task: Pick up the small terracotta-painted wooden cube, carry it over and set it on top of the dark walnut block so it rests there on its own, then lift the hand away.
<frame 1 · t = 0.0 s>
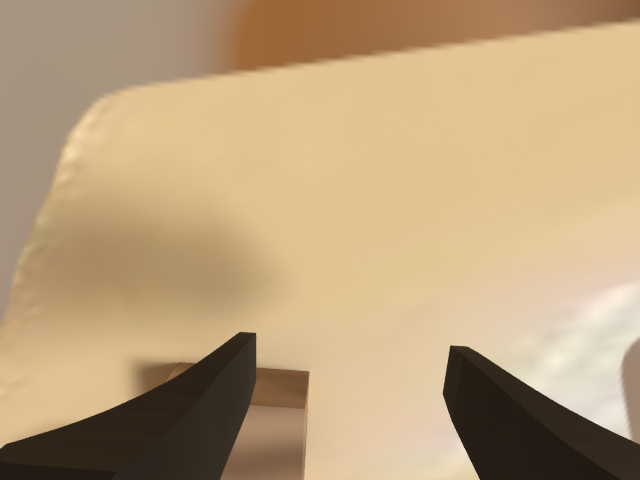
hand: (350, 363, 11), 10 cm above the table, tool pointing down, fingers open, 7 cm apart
walnut block: (245, 418, 24), on the table
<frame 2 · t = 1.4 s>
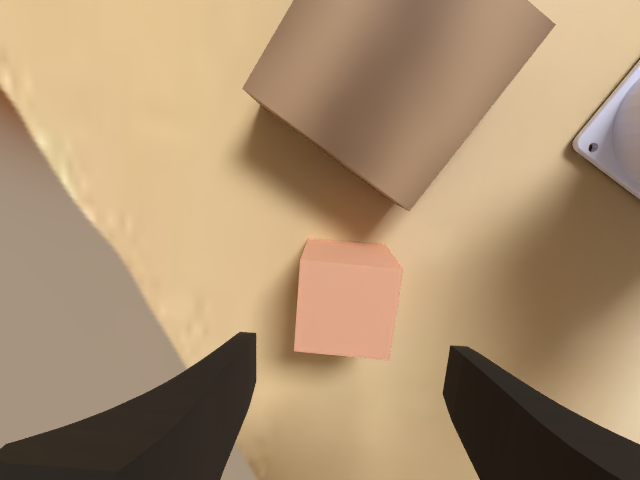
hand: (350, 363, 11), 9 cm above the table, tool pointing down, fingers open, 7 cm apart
walnut block: (379, 82, 18), on the table
terracotta cube: (343, 277, 20), on the table
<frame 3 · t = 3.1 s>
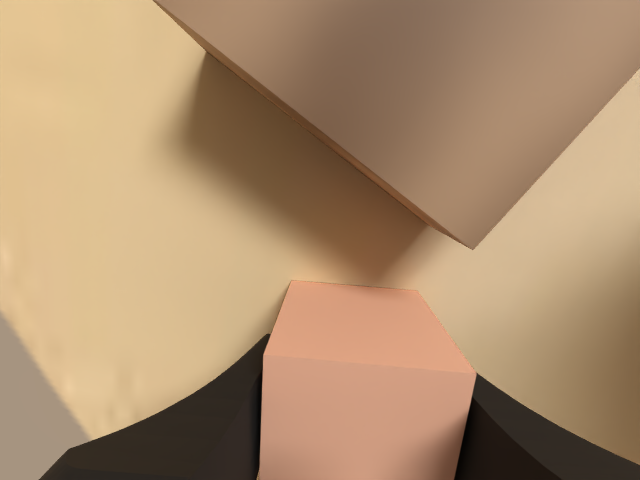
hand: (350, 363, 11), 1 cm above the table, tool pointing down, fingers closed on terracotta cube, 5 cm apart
walnut block: (412, 18, 10), on the table
terracotta cube: (348, 342, 12), on the table, touching gripper
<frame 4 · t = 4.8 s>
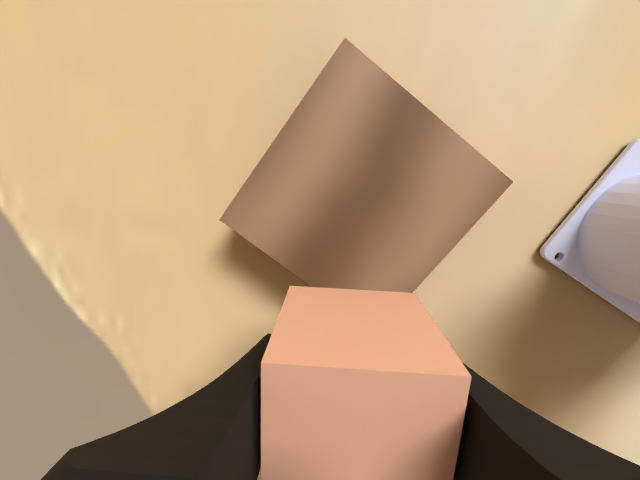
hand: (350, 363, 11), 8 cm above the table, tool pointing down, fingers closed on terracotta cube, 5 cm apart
walnut block: (355, 194, 18), on the table
terracotta cube: (347, 345, 13), point 7 cm above the table, touching gripper
when the fingers open (7 cm above the table, at t = 6.5 s): terracotta cube drops 2 cm, resting on walnut block.
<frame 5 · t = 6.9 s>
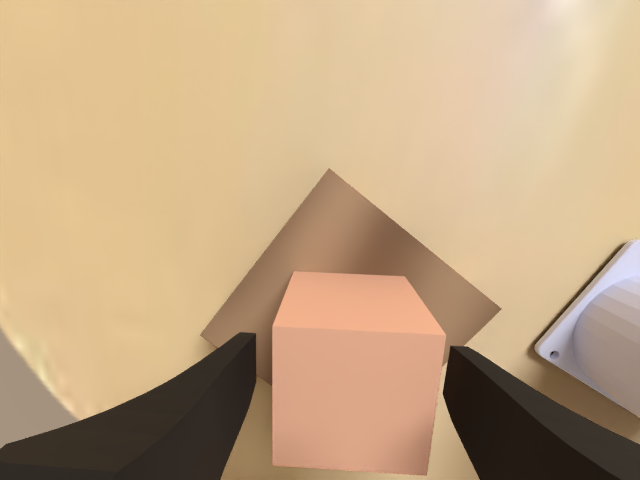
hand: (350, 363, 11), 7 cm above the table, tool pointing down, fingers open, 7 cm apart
walnut block: (343, 289, 18), on the table, touching terracotta cube
terracotta cube: (346, 324, 14), point 4 cm above the table, touching walnut block
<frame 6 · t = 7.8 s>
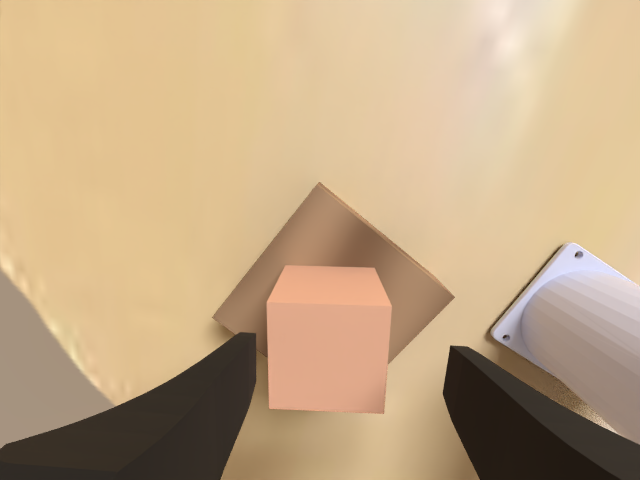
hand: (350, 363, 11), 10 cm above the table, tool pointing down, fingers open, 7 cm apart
walnut block: (330, 282, 21), on the table
terracotta cube: (328, 307, 17), point 4 cm above the table
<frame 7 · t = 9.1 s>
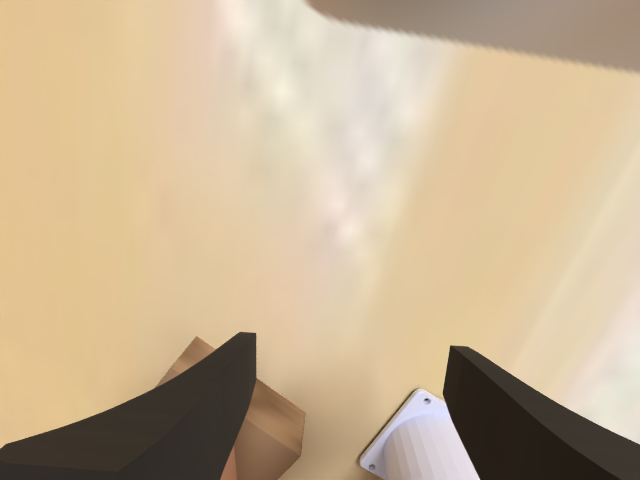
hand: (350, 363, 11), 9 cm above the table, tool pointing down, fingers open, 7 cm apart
walnut block: (217, 414, 24), on the table, touching terracotta cube
terracotta cube: (198, 462, 20), point 4 cm above the table, touching walnut block
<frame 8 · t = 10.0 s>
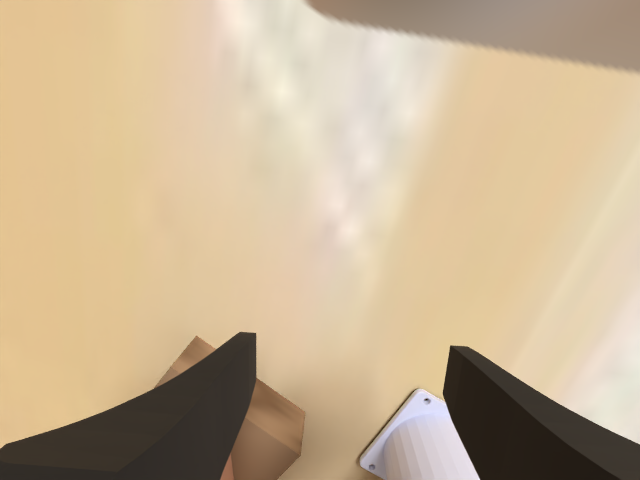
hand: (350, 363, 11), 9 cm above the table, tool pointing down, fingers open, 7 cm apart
walnut block: (216, 413, 24), on the table
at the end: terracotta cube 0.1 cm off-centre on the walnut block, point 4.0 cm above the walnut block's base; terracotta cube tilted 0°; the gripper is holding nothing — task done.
